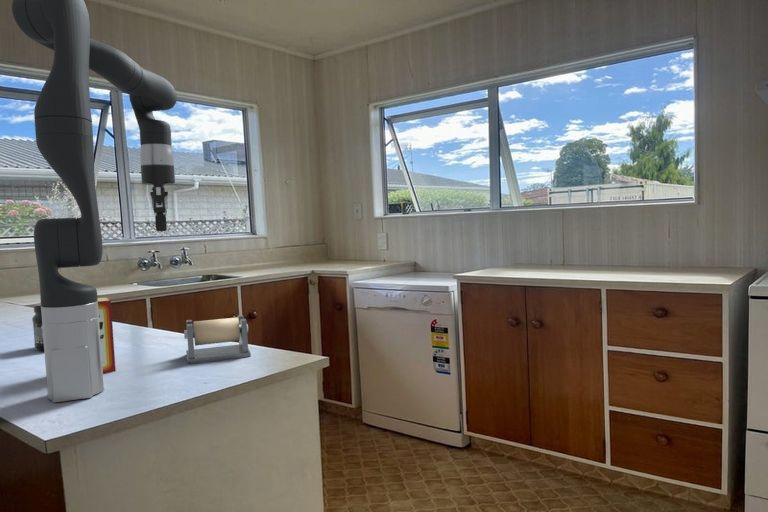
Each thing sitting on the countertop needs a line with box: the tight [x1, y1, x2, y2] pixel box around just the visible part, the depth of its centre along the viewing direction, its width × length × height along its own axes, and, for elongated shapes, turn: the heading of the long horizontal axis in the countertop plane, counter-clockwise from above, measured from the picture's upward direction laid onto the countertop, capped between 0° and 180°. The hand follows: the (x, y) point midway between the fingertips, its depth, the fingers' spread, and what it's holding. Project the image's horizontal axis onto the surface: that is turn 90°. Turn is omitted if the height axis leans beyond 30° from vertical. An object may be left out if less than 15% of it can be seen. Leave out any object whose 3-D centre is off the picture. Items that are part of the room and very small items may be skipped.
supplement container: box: [31, 302, 44, 352], centre depth 144 cm, size 10×10×12 cm
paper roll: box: [183, 316, 249, 347], centre depth 127 cm, size 14×6×6 cm
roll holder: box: [186, 314, 252, 365], centre depth 128 cm, size 10×14×8 cm
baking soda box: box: [98, 296, 117, 374], centre depth 117 cm, size 10×6×16 cm
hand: (161, 231), depth 132 cm, fingers open, 8 cm apart
